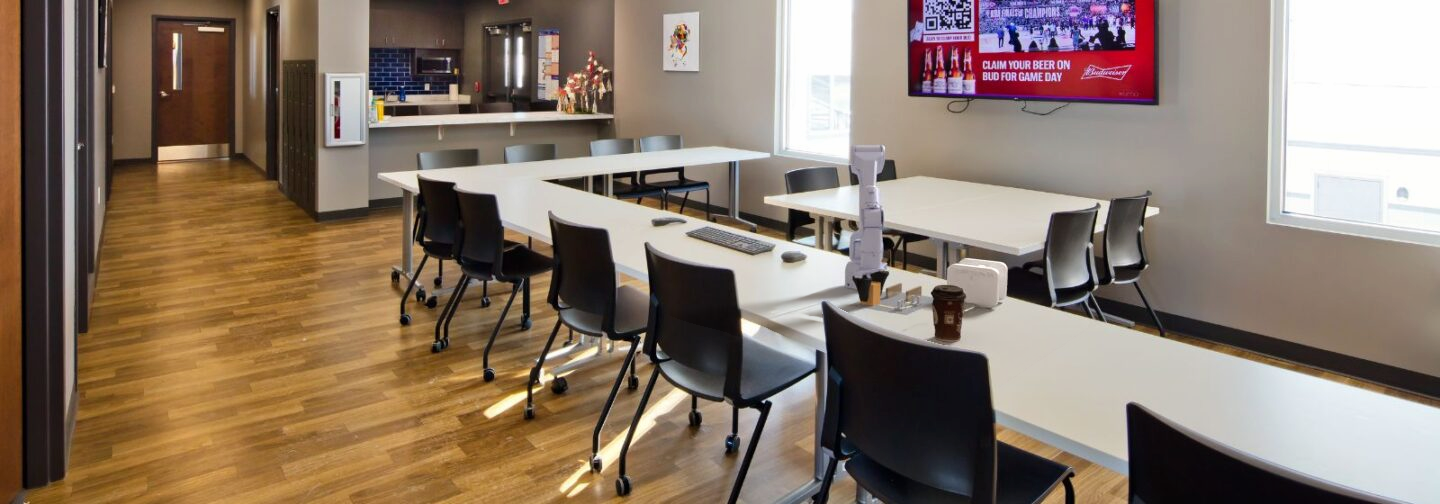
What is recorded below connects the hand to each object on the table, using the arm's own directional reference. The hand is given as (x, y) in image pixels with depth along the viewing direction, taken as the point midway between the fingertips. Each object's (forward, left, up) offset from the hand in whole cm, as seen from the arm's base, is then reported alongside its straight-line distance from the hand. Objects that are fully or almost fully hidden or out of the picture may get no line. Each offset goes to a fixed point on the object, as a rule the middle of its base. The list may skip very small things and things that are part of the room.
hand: (870, 298), depth 262 cm
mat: (+5, +6, -2) cm, 8 cm away
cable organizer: (+22, +22, -3) cm, 31 cm away
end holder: (+4, +12, -1) cm, 13 cm away
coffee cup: (+31, -16, -3) cm, 35 cm away
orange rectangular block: (0, 0, -1) cm, 1 cm away
